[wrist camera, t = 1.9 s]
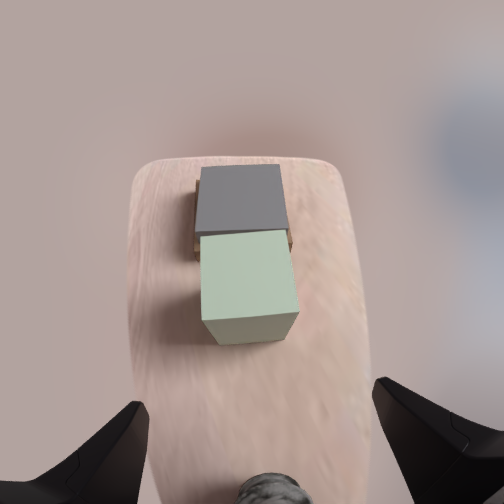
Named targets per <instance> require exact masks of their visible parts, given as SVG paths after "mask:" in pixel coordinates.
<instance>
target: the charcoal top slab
mask: <svg viewBox="0 0 504 504" xmlns="http://www.w3.org/2000/svg"><path fill="white" fill-rule="evenodd" d="M288 229H289V227H288V220H287V212H286V205H285V198H284V191H283V185H282V178H281V172H280V165H279V164H262V165H231V166H212V167H202V168H201V177H200V185H199V194H198V204H197V214H196V225H195V234H196V237H197V240H198V243H199V244H200V237H203V236H214V235H225V234H237V233H249V232H261V231H274V230H286V235H287V234H288Z"/></svg>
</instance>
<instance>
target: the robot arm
mask: <svg viewBox="0 0 504 504" xmlns="http://www.w3.org/2000/svg"><path fill="white" fill-rule="evenodd" d="M372 398H373V402H374V405H375V407H376V411H377V414H378V417H379V420H380V423H381V426H382V429H383V431H384V433H385V435H386V438H387V440H388V442H389V444H390V447H391V449H392V451H393V453H394V456H395V458H396V460H397V463H398V465H399V467H400V470H401V472H402V474H403V476H404V479H405V481H406V484H407V486H408V488H409V491H410V493H411V496H412V498H413V500H414V504H504V431H499V430H495V429H492V428H489V427H486V426H483V425H480V424H477V423H475V422H472V421H470V420H467V419H465V418H463V417H461V416H459V415H456V414H454V413H453V412H450V411H449V410H447V409H445V408H443V407H441V406H439V405H437V404H435V403H433V402H432V401H430V400H428V399H426V398H424V397H422V396H420V395H419V394H417V393H415V392H413V391H411V390H409V389H408V388H405V387H404V386H402V385H400V384H399V383H397V382H395V381H393V380H391V379H390V378H388V377H381V378H378V379H376V381H375V384H374V387H373V391H372ZM148 429H149V414H148V412H147V410H146V408H145V406H144V404H143V403H142V402H141V401H132V402H130V403H129V404H128V405H127V406H126V407H125V408H124V409H122V410H121V411H120V412H119V413H118V414H117V415H116V416H115V417H113V418H112V419H111V420H110V421H109V422H108V423H107V424H106V425H105V426H103V427H102V428H101V429H100V430H99V431H98V432H97V433H96V434H94V435H93V436H92V437H91V438H90V439H89V440H87V441H86V442H85V443H84V444H83V445H82V446H81V447H79V448H78V450H76V451H75V452H73V453H72V454H71V455H70V456H68V457H67V458H66V459H65V460H64V461H62V462H61V463H59V464H58V465H56V466H55V467H54V468H52V469H50V470H49V471H47V472H46V473H44V474H42V475H41V476H39V477H37V478H36V479H34V480H31V481H26V482H17V481H16V482H14V481H0V504H137V502H138V495H139V490H140V484H141V478H142V473H143V468H144V462H145V458H146V452H147V442H148Z"/></svg>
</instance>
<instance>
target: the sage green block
mask: <svg viewBox="0 0 504 504" xmlns="http://www.w3.org/2000/svg"><path fill="white" fill-rule="evenodd" d="M200 267H201V315H202V321H203V323H204V324H205V326H206V327H207V329H208V330H209V331H210V333H211V334H212V336H213V337H214V338H215V340H216V341H217V342H218V344H219V345H234V344H246V343H257V342H267V341H277V340H284V339H285V337H286V335H287V334H288V332H289V330H290V328H291V326H292V325H293V323H294V321H295V319H296V317H297V315H298V314H299V312H300V311H299V304H298V298H297V292H296V286H295V280H294V274H293V268H292V263H291V257H290V251H289V246H288V240H287V235H286V230H274V231H261V232H249V233H237V234H225V235H214V236H203V237H200Z"/></svg>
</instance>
